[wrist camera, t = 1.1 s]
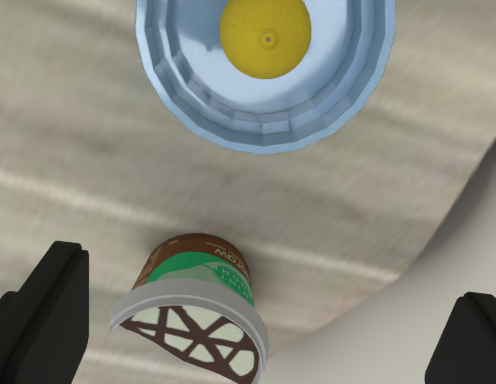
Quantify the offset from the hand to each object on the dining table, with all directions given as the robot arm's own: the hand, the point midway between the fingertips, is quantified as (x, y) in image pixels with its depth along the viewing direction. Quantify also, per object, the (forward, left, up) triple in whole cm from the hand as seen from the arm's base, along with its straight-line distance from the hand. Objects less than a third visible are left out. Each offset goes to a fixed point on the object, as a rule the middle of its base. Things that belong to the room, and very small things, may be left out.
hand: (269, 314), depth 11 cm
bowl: (-3, +4, -24) cm, 25 cm away
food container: (+8, -12, -24) cm, 29 cm away
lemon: (-3, +4, -24) cm, 25 cm away
